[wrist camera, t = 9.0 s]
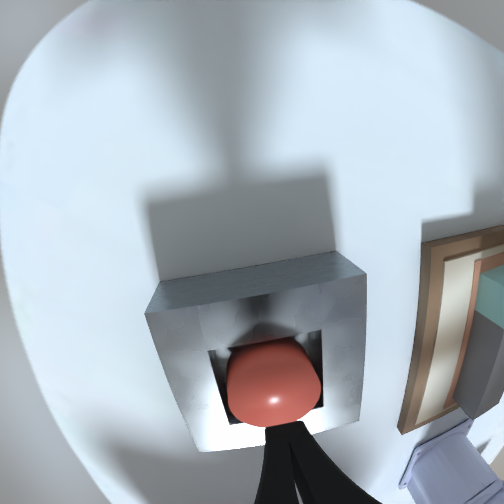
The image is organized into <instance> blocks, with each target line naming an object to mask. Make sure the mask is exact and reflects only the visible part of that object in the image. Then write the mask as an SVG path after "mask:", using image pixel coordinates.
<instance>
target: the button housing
mask: <svg viewBox="0 0 504 504" xmlns="http://www.w3.org/2000/svg"><path fill="white" fill-rule="evenodd" d="M366 312H367V275H366V273H365V272H364V271H363V270H361V269H360V268H359V267H357V266H356V265H355V264H353V263H352V262H351V261H349V260H348V259H347V258H345V257H344V256H342V255H341V254H340V253H338V252H337V251H334V252H329V253H323V254H318V255H312V256H307V257H301V258H296V259H290V260H285V261H279V262H273V263H268V264H262V265H256V266H251V267H245V268H239V269H234V270H228V271H222V272H216V273H210V274H204V275H198V276H193V277H187V278H181V279H175V280H169V281H163V282H159V284H158V286H157V288H156V290H155V293H154V295H153V297H152V299H151V301H150V303H149V305H148V307H147V309H146V311H145V313H144V314H145V317H146V320H147V323H148V326H149V329H150V332H151V335H152V338H153V341H154V344H155V347H156V350H157V353H158V355H159V358H160V361H161V364H162V366H163V369H164V372H165V374H166V377H167V380H168V382H169V385H170V387H171V390H172V392H173V395H174V397H175V400H176V402H177V404H178V407H179V409H180V411H181V414H182V416H183V418H184V421H185V423H186V425H187V427H188V429H189V432H190V434H191V436H192V438H193V440H194V442H195V445H196V447H197V449H198V451H199V452H211V451H221V450H229V449H237V448H244V447H251V446H257V445H263V444H265V435H264V429H265V428H260V427H254V426H251V425H248V424H245V423H243V422H242V421H240V420H239V419H237V418H236V417H235V416H234V415H233V413H232V412H231V410H230V408H229V404H228V393H227V376H226V366H227V361H228V359H229V357H230V355H231V353H232V352H233V351H234V350H235V349H236V348H237V347H238V346H241V345H247V344H253V343H258V342H263V341H269V340H274V339H279V338H284V337H291V338H293V339H295V340H296V341H298V342H299V343H300V344H301V345H302V346H303V347H304V349H305V351H306V353H307V355H308V357H309V359H310V361H311V363H312V366H313V368H314V370H315V372H316V374H317V376H318V378H319V381H320V385H321V393H320V397H319V399H318V401H317V403H316V405H315V406H314V407H313V409H312V410H311V411H310V412H309V413H308V414H306V415H305V416H304V417H302V418H301V419H299V420H302V421H304V423H305V425H306V427H307V428H308V430H309V432H310V433H311V434H315V433H319V432H322V431H326V430H330V429H333V428H337V427H340V426H344V425H347V424H350V423H354V422H357V421H359V417H360V408H361V399H362V388H363V376H364V362H365V344H366ZM297 421H298V420H297Z"/></svg>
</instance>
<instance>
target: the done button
mask: <svg viewBox="0 0 504 504" xmlns="http://www.w3.org/2000/svg"><path fill="white" fill-rule="evenodd" d="M226 376H227V393H228V404H229V408H230V410H231V412H232V413H233V415H234V416H235V417H236V418H237V419H239V420H240V421H242V422H243V423H245V424H248V425H251V426H254V427H260V428H266V427H269V426H275V425H280V424H285V423H289V422H294V421H297V420H299V419H301V418H302V417H304V416H305V415H306V414H308V413H309V412H310V411H311V410H312V409H313V407H314V406H315V405H316V403H317V401H318V399H319V397H320V393H321V385H320V381H319V378H318V376H317V374H316V372H315V370H314V368H313V366H312V363H311V361H310V359H309V357H308V355H307V353H306V351H305V349H304V347H303V346H302V345H301V344H300V343H299V342H298V341H296V340H295V339H293V338H291V337H284V338H279V339H274V340H269V341H263V342H258V343H253V344H247V345H241V346H238V347H237V348H236V349H235V350H234V351H233V352H232V353H231V355H230V357H229V359H228V361H227V366H226Z"/></svg>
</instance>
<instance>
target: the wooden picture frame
mask: <svg viewBox="0 0 504 504" xmlns="http://www.w3.org/2000/svg"><path fill="white" fill-rule="evenodd" d="M501 265H504V225H500V226H496V227H492V228H488V229H483V230H479V231H474V232H470V233H466V234H461V235H457V236H452V237H448V238H443V239H438V240H434V241H429V242H425V243H421V274H420V290H419V303H418V314H417V323H416V331H415V339H414V346H413V353H412V359H411V365H410V371H409V376H408V382H407V387H406V391H405V396H404V401H403V405H402V409H401V414H400V418H399V422H398V425H397V428H398V430H399V431H400V433H401V435H403V434H405V433H408V432H410V431H412V430H415V429H417V428H419V427H421V426H423V425H426V424H428V423H430V422H432V421H434V420H436V419H438V418H440V417H442V416H444V415H446V414H448V413H449V412H451V411H453V410H455V409H457V408H459V407H460V406H459V405H458V404H457V403H456V401H455V400H454V399H453V398H452V397H453V394H454V391H455V387H456V384H457V381H458V378H459V374H460V371H461V367H462V363H463V360H464V356H465V352H466V348H467V343H468V339H469V335H470V330H471V325H472V320H473V314H474V309H475V303H476V296H477V289H478V281H479V274H480V273H483V272H485V271H488V270H491V269H493V268H496V267H499V266H501Z"/></svg>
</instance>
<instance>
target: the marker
mask: <svg viewBox="0 0 504 504" xmlns="http://www.w3.org/2000/svg"><path fill="white" fill-rule="evenodd" d="M503 392H504V265H501V266H499V267H496V268H493V269H491V270H488V271H485V272H483V273H480V274H479V281H478V289H477V296H476V303H475V309H474V314H473V320H472V325H471V330H470V335H469V339H468V343H467V348H466V352H465V356H464V360H463V363H462V367H461V371H460V374H459V378H458V381H457V384H456V387H455V391H454V394H453V397H452V398H453V399H454V400H455V401H456V403H457V404H458V405H459V406H460V407H461V408H462V409H463V410H464V412H465V413H466V415H468V416H469V417H470V418H471V419H472V421H473V420H474V419H476V418H477V417H479V416H480V415H482V414H484V413H485V412H487V411H488V410H490V409H491V408H492V407H494V406H495V405H497V404H498V403H499V401H500V399H501V397H502V394H503Z"/></svg>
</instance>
